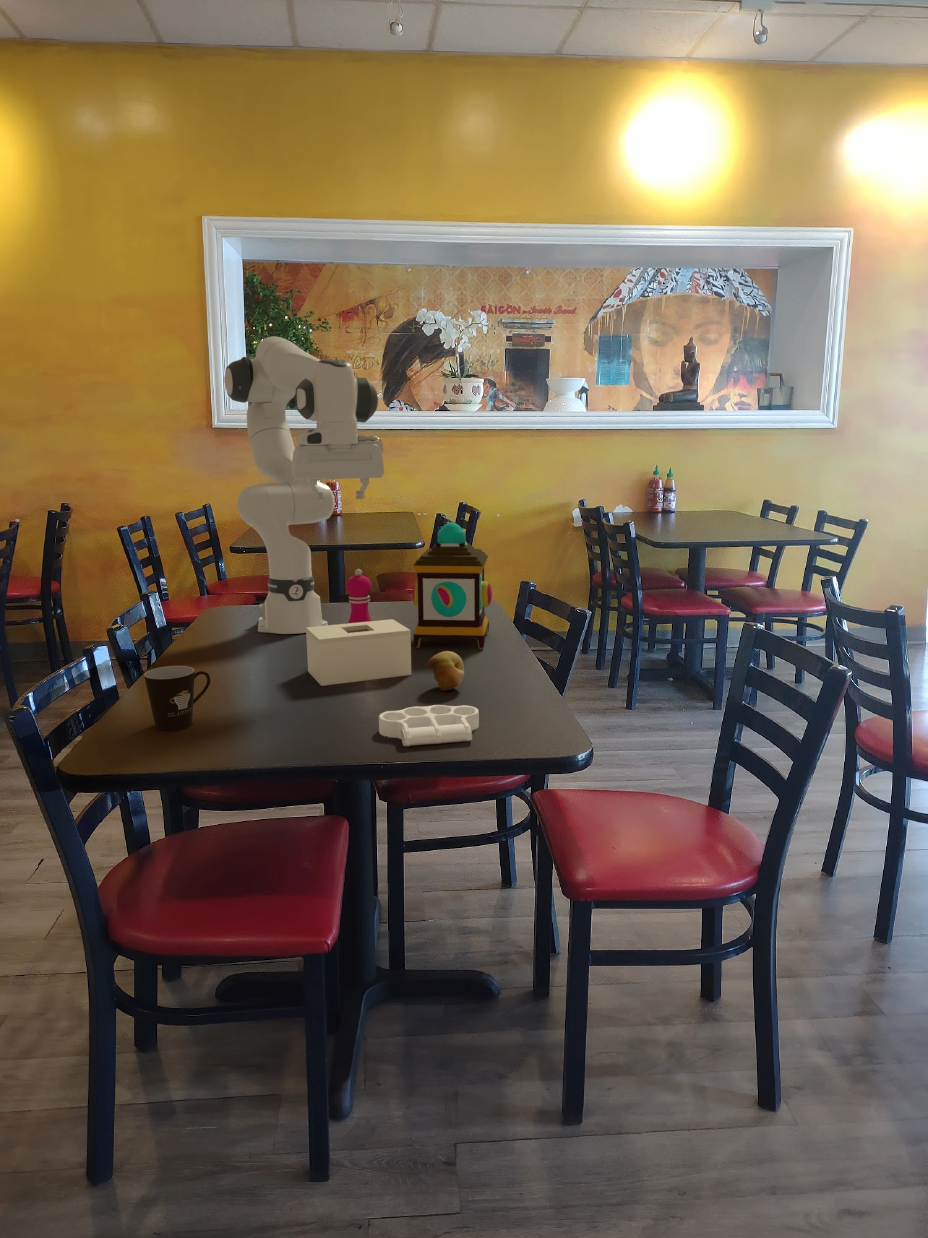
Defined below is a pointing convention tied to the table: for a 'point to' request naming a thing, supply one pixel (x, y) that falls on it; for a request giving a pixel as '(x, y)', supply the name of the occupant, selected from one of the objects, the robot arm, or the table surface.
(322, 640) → the coin box
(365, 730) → the table surface
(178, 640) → the table surface
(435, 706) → the knuckle duster
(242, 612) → the table surface
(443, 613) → the decorative lantern
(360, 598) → the pepper mill
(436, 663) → the fruit
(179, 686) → the coffee mug
